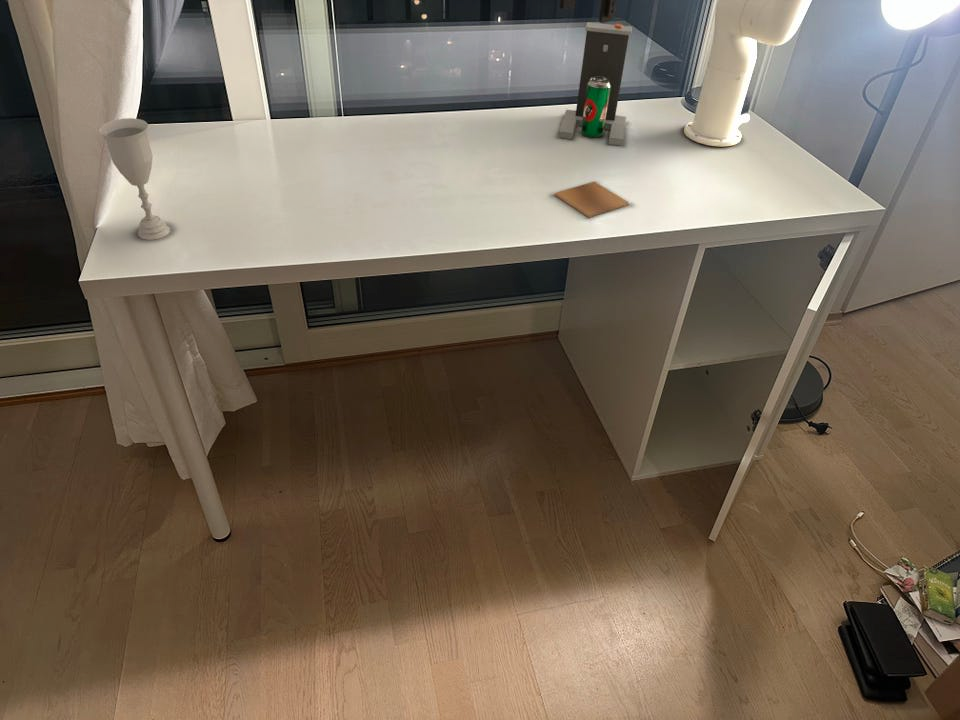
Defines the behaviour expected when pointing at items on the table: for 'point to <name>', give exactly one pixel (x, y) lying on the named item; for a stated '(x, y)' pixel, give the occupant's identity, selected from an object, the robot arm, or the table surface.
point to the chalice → (134, 166)
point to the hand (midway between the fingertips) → (586, 14)
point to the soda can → (595, 106)
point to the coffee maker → (605, 61)
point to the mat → (591, 199)
